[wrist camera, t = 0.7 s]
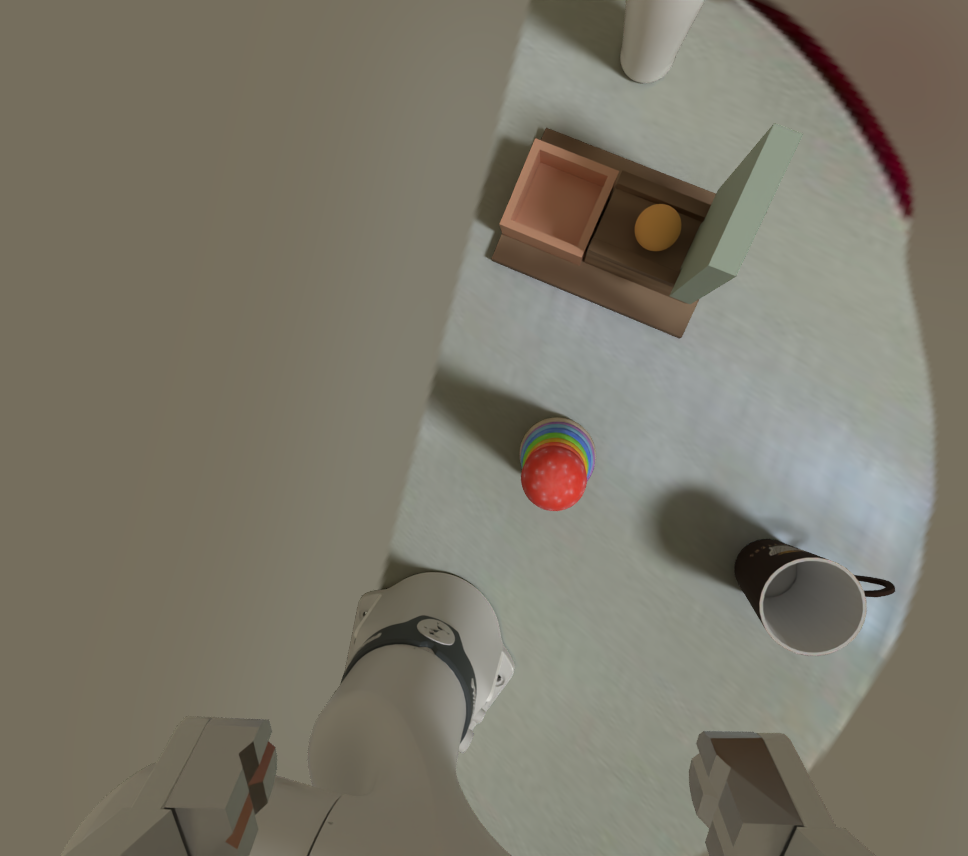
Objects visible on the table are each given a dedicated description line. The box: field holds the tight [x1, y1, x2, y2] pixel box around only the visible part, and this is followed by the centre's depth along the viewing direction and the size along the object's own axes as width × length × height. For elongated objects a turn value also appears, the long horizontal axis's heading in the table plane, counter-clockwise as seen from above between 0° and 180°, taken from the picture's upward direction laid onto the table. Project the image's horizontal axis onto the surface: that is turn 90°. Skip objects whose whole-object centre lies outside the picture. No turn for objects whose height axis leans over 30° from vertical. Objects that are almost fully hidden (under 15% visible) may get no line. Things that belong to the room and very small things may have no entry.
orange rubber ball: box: [635, 204, 681, 251], centre depth 49 cm, size 4×4×4 cm
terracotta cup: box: [500, 138, 619, 266], centre depth 54 cm, size 9×9×4 cm
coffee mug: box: [735, 539, 895, 656], centre depth 52 cm, size 12×9×10 cm
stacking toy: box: [519, 417, 596, 511], centre depth 49 cm, size 8×8×19 cm
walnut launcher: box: [491, 128, 716, 338], centre depth 53 cm, size 14×21×6 cm, turn 67°
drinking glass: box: [620, 0, 705, 83], centre depth 48 cm, size 7×7×15 cm
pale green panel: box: [670, 123, 803, 304], centre depth 44 cm, size 10×2×14 cm, turn 157°
